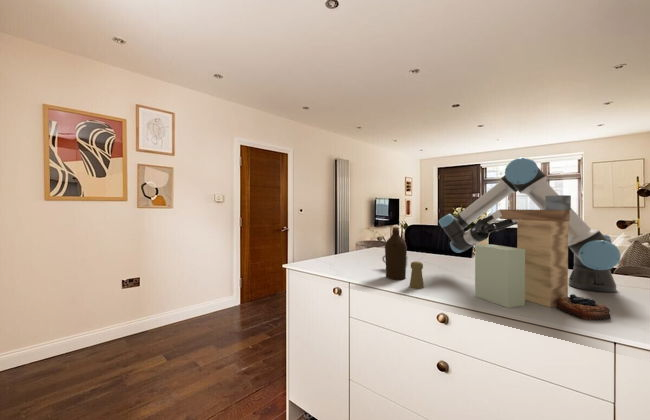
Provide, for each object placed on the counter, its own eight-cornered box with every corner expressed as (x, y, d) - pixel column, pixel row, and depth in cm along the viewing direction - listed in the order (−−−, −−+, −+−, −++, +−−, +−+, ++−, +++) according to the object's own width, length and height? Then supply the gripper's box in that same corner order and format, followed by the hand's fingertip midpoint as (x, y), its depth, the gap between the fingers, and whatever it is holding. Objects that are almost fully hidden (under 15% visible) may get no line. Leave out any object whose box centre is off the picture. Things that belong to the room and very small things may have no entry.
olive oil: (410, 279, 136) (410, 228, 135) (389, 280, 134) (389, 228, 134) (401, 274, 146) (401, 226, 146) (381, 275, 144) (381, 226, 144)
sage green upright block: (490, 293, 113) (491, 244, 113) (524, 305, 100) (525, 249, 100) (475, 295, 111) (475, 245, 111) (507, 307, 98) (508, 250, 98)
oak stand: (533, 294, 112) (534, 219, 112) (567, 304, 101) (568, 220, 101) (517, 296, 110) (517, 219, 109) (549, 307, 98) (550, 221, 98)
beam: (507, 218, 121) (507, 197, 121) (570, 221, 98) (570, 195, 98) (498, 218, 120) (498, 197, 120) (560, 221, 97) (560, 195, 97)
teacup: (410, 268, 160) (410, 254, 160) (404, 272, 151) (404, 257, 151) (386, 266, 168) (386, 252, 168) (379, 269, 159) (379, 255, 158)
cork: (424, 289, 120) (425, 263, 120) (410, 288, 122) (410, 262, 122) (423, 285, 126) (423, 260, 126) (409, 284, 127) (409, 260, 127)
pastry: (580, 307, 99) (581, 291, 99) (618, 321, 87) (618, 302, 87) (550, 308, 98) (550, 291, 98) (584, 322, 86) (584, 303, 86)
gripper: (500, 240, 135) (539, 220, 118) (458, 242, 128) (493, 221, 110) (493, 226, 139) (530, 204, 121) (452, 228, 131) (485, 204, 114)
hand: (512, 212), depth 116 cm, fingers open, 13 cm apart
